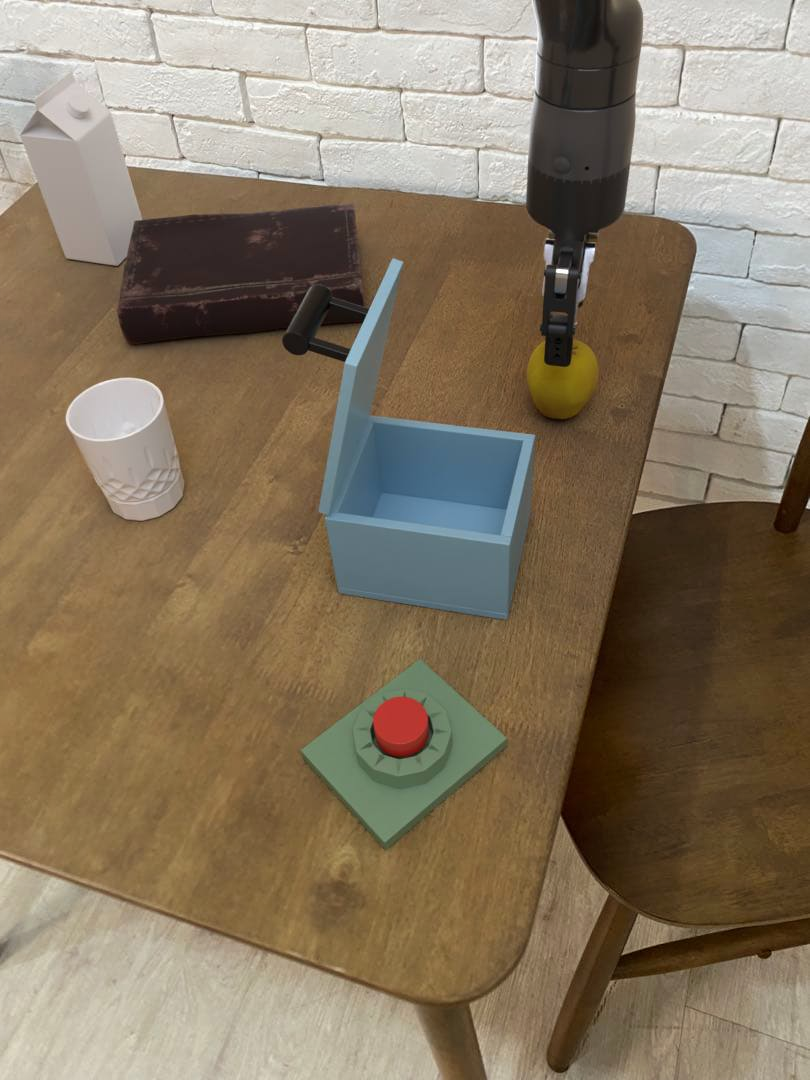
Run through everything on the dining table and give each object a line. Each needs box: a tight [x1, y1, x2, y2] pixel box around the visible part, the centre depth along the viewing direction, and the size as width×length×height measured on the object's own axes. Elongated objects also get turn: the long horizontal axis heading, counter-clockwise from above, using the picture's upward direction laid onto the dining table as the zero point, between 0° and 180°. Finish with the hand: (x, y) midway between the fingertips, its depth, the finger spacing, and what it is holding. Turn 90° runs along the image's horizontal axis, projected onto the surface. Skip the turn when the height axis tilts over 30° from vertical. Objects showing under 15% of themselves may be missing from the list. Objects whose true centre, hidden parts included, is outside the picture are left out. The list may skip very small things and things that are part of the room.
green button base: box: [300, 658, 508, 851], centre depth 64 cm, size 11×9×3 cm
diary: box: [116, 202, 366, 345], centre depth 102 cm, size 19×25×5 cm
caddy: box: [324, 414, 536, 621], centre depth 74 cm, size 14×12×9 cm
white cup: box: [65, 377, 185, 522], centre depth 80 cm, size 8×8×10 cm
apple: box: [526, 338, 600, 420], centre depth 85 cm, size 6×6×8 cm
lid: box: [281, 258, 404, 516], centre depth 66 cm, size 14×12×6 cm
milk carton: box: [19, 70, 143, 267], centre depth 105 cm, size 7×7×19 cm
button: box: [373, 697, 429, 757], centre depth 62 cm, size 4×4×2 cm
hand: (564, 333), depth 81 cm, fingers open, 8 cm apart
